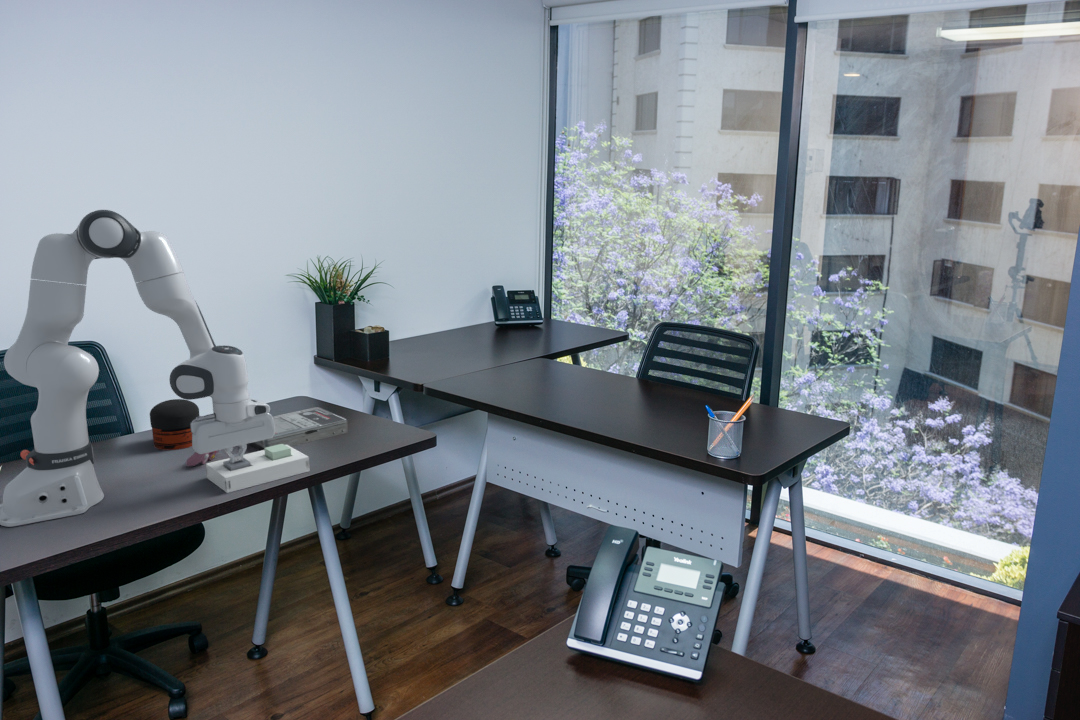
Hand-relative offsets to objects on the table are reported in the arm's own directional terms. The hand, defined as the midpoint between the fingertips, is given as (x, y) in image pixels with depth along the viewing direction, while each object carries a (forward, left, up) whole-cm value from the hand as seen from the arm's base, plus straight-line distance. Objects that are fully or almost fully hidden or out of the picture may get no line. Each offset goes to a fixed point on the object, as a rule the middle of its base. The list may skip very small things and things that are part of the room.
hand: (236, 461), depth 206 cm
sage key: (+11, 0, -2) cm, 11 cm away
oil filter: (-2, +40, -5) cm, 40 cm away
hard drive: (+27, +24, -6) cm, 36 cm away
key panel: (+5, 0, -5) cm, 7 cm away
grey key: (0, 0, -3) cm, 3 cm away
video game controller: (-1, +19, -5) cm, 20 cm away
